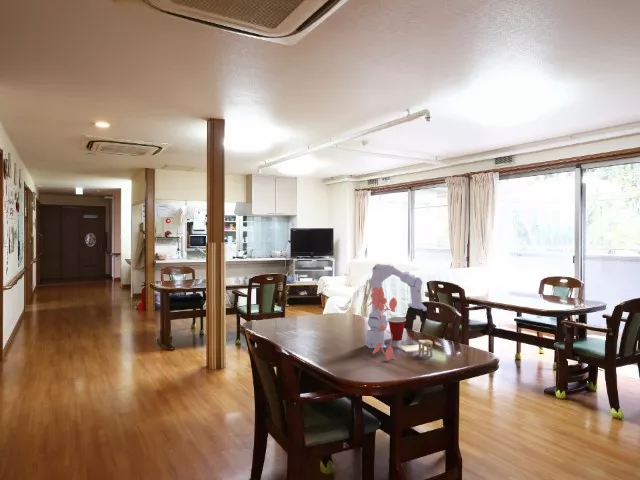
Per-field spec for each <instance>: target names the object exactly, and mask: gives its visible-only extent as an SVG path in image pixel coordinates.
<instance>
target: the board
mask: <svg viewBox="0 0 640 480" xmlns="http://www.w3.org/2000/svg"><path fill="white" fill-rule="evenodd" d="M398 348H399V349H400V350H402V351H403V352H405V353H419V344H410V345H409V344H408V345H398ZM421 348H422V344H421ZM429 352H430V350H429ZM421 353H422V351H421ZM424 353H427V346H425V345H424Z"/></svg>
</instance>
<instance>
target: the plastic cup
mask: <svg viewBox="0 0 640 480" xmlns="http://www.w3.org/2000/svg"><path fill="white" fill-rule="evenodd" d="M386 320H387V323H388V326H389V332H390V333H391V334H390V333H389V334H390V337H391V338H392V341H402V340H403V335H404V330H405V324H406V321H407V318H405V317H401V316H390V317H388V318H386ZM392 334H393V336H392ZM391 338H390V339H391Z"/></svg>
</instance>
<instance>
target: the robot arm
mask: <svg viewBox="0 0 640 480" xmlns="http://www.w3.org/2000/svg"><path fill="white" fill-rule="evenodd" d="M371 271H372V275H371V279H370V280H371V281H370V282H371V294H372V293H374V291H373V288H375V286H377V287H378V289H380V287H382V285H383V284H382V283H383V282H384V281H385V280H386V279H389V278H390V277H392V275H393V276H395V277H398V278H399V280H400V281H401V282H403V283H405V284H407V285H408V287H409V289H410V299H411V300H410V301H411V302H409V303H407V307H408V308H407V311H408V312H409V314H410V317H411V318H412V319H411V320H412V321H415V320H417V313H418V316H419V321H420V323H425V320H426V316H427V313H428V309H427V306H425V305H424V304H423V302H422V300H423V299H422V291H421V290H422V286H423V281H422V279H421V278H420V277H416V276H415V275H414V274H411V273H410V271H401V270H400V269H398V268H396V267H395V266H394V265H391V264H384V263H383V264H380V263H376V264H374V266H373V267H372V270H371ZM382 288H383V287H382ZM372 301H373V299H372V298H371V302H372ZM371 306H372V307H371V310H372V311H371V312H370V313H369V314H368V319H367V325H368V327H369V329H368V330H366V332H365V345H366V347H368V349H375V347H376V346H377V345H378V344H379V329H380V326H381V325H385V326H386V329H387V328H388V320H387V315H386V314H385V312H383V311H384V310H382V312H383V313H382V312H381V311H380V310H379V308H378V309H377V310H375V307H374V304H373V303H372V304H371ZM380 313H382V314H381V319H382V323H381V319H380ZM380 343H382V345H381V346H382V348H383V349H384V348H385V349H387V348H388V347H387V345H385V330H381V329H380ZM380 348H381V347H380Z"/></svg>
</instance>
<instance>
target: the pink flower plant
mask: <svg viewBox="0 0 640 480" xmlns="http://www.w3.org/2000/svg"><path fill="white" fill-rule="evenodd" d="M373 291H374V293H372V292H371V294H370V297H371V302H369V304H368V305H367V307H369V306H372V303H373V304H374V307H375V310H377V309H378V308H379V310H380V311H381V312H382V310H383V312H382V313H385V312H386V311H390V312H393V313H395V312H396V310H395V309H396V307H397V304H398V301H397V299H396V298H395V297H392V298H391V299H390V300H389V302H388V299H387V298H386V297H385V293H384V289H383V287H380V289H378V287H377V286H375V288H373ZM372 299H373V301H372ZM386 303H389V304H388V306H387V304H386ZM382 313H380V319H381V314H382ZM381 323H382V319H381ZM380 329H381V330H384V331H386V332H387V333H388V334H390V335H391V333H390V331H389V330H387V328H386V326H385V325H381V326H380ZM380 329H379V344H378V345H377V346H376V347H375V348H373V351H372V355H374V354H376V353H377V352H380V351H382V353H383V355H385V357H386V360H387V361H390V359H391V358H392V357H393V359H394V360H396V357H395V355H394V350H393V349H394V348H393V347H392V346H391V345H392V341H393V340H392V338H390V343H389V346H388V347H387V348H386V350H385V351H384V348H382V346H381V345H382V343H380ZM392 336H393V334H392ZM380 347H381V350H380ZM362 359H363V360H364V361H366V362H370V363H371V360H370V361H369V360H367V359H364V358H363V356H362ZM372 363H373V364H376V362H375V361H372ZM379 364H380V365H381V364H382V365H384V363H383V362H382V363H381V362H379Z"/></svg>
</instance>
